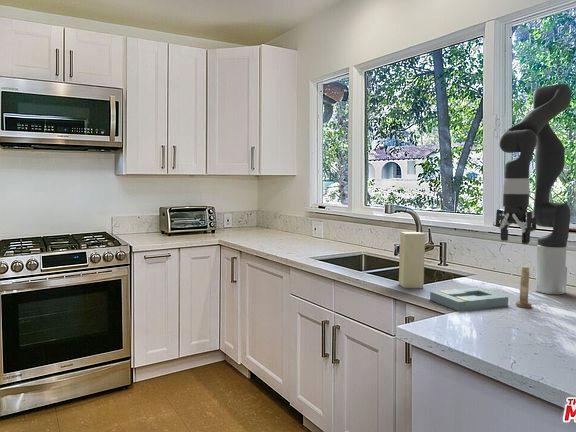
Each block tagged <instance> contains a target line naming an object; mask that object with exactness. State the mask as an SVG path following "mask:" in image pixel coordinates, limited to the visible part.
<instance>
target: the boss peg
mask: <svg viewBox="0 0 576 432" xmlns="http://www.w3.org/2000/svg"><path fill="white" fill-rule="evenodd" d="M530 268H531V267H530V266H522V265H521V266H520V283H519V285H520V286H519V287H520V288H519V301H515V307H517V308H522V309H531V308H532V305H533V304H532V303H531V302H529V291H530V289H529V288H530V287H529V285H530Z"/></svg>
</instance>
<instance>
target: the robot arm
mask: <svg viewBox="0 0 576 432" xmlns="http://www.w3.org/2000/svg"><path fill="white" fill-rule="evenodd" d="M571 101H572V90H571V88H570V86H569V85H568V84H566V83H556V84H550V85H545V86H540V87H539V86H538V87H537V88H536V89H534V92H533V95H532V107H533V109H532V110H531V111H530V112H527V113H526V114H525V115H524V116H523V118H522V119H520V121H519V122H518V123H516V124H514V125H512V126H511V127H509V128H508V129H506V130H505V131H504V132H503V133H502V134H501V136H500V138H499V142H498V144H499V148H500V150H501V151H502V152H504V153H507V154H514V153H520V154H519V156H518V157H517V158H515V159H510V160H507V161H506V162H505V165H504V180H503V181H504V182H503V193H502V207H504V209H502V208H501V209H496V214H495V227H496V228H499V229H500V240H501V241H502V242H503V241H504V242H506V241H508V240H509V229H508V228H509V227H510V226H511V225H512V224H514V225H517V227H520V229H521V244H522V245H528V244H529V243H530V241H531V232H534V231H536V230H537V226H539V227H543V228H552V232H551V233H549V234H547V235H543V236H539V237H538V238H537V247H536V270H535V271H536V272H535V288H534V289H535V291H536V292H539V293H542V294H546V295H564V294H565V293H567V278H568V277H567V274H568V267H567V266H566V261H567V244H568V239H569V233H570V232H569V231H570V225H571V224H570V222H571V209H570V206H569V204H567V203H565V202H552V201H551V202H550V194H551V193H550V192H551V190H552V187H553V185H554V184H555V182H556V181H557V180H558V178H559V177H560V175H561V174H562V172H563V170H564V167H565V164H566V163H565V149H566V148H565V146H564V143H563V142H562V140H561V138H559V136H558V135H557V134H556V133H555V131H554V130H553V128H552V127H551V125H550V121H552V120H553V119H554V118H556V117H557V116H558V115H559V114H561V113H562V112H564V111H565V110H566V109H567V108H568V107H569V106H570V103H571ZM534 152H535V153H534ZM534 154H535V155H534ZM533 155H534V159H535V160H534V162H535V166H534V167H535V188H534V190H535V191H534V192H535V193H534V202H533V205H534V206H533V211H528V208H529V207H530V189H531V188H530V187H531V185H530V179H529V178H530V166H531V165H530V164H531V161H532V158H533Z"/></svg>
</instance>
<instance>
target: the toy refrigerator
mask: <svg viewBox="0 0 576 432" xmlns="http://www.w3.org/2000/svg"><path fill="white" fill-rule="evenodd" d="M425 248H426V233H424V232H421V231H418V232H417V231H400V232H399V260H398V261H399V263H398V264H399V268H398V269H399V270H398V272H399V273H398V285H399V286H400V287H402V288H403V289H404V288H405V289H410V288H411V289H414V288H415V289H424V282H425V281H424V279H425V278H424V277H425V250H426V249H425Z"/></svg>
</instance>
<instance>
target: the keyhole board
mask: <svg viewBox="0 0 576 432" xmlns="http://www.w3.org/2000/svg"><path fill="white" fill-rule="evenodd" d="M429 292H430V293H429V294H430V295H429V300H430V301H432V302H435V303H437V304H439V305H442V306H445V307H446V308H450V309H452V310H454V311H456V312H461V311H462V312H463V311H473V310H479V309H482V310H483V309H489V308H499V307H500V308H501V307H508V306H509V296H507V295H506V296H505V295H503V294H500V293H497V292H493V291H490V290H486V289H484V288H480V287H469V288H468V287H467V288H456V289H446V290H445V289H444V290H441V289H440V290H434V291H433V290H432V291H429Z"/></svg>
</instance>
